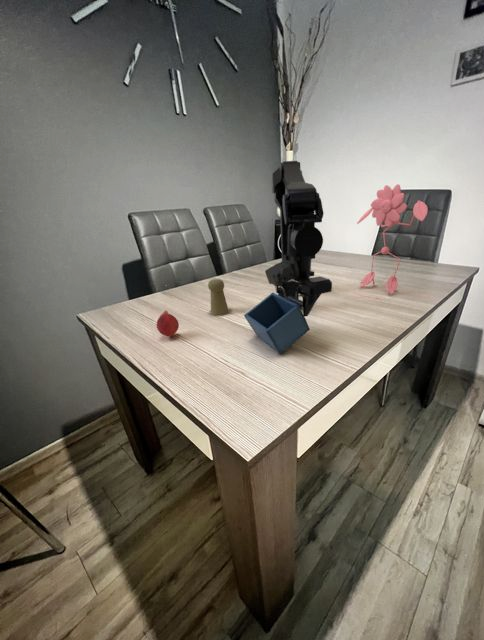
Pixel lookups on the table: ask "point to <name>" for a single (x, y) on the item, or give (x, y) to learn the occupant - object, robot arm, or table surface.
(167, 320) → the onion
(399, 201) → the figurine
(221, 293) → the tan chess pawn
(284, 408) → the table surface
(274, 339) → the blue drawer
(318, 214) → the robot arm
